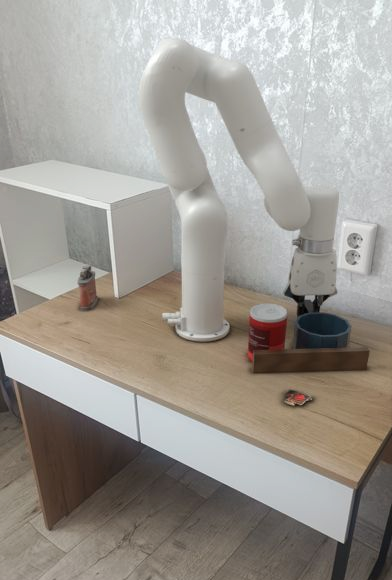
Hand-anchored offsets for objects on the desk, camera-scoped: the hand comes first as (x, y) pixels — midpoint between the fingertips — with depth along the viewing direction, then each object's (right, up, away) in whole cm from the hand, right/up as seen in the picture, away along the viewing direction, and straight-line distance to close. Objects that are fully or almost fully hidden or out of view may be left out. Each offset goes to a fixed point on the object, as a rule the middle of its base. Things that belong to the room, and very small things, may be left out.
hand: (307, 318), depth 132 cm
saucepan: (+1, -5, -6) cm, 8 cm away
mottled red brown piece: (-7, -17, -27) cm, 33 cm away
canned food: (-12, -9, -13) cm, 20 cm away
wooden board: (-3, -11, -17) cm, 21 cm away
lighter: (-54, +4, +11) cm, 55 cm away
